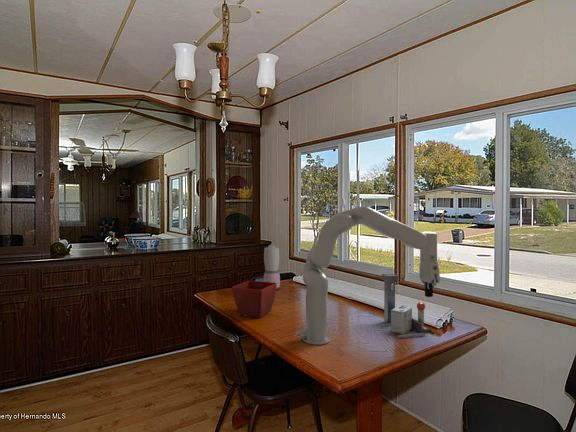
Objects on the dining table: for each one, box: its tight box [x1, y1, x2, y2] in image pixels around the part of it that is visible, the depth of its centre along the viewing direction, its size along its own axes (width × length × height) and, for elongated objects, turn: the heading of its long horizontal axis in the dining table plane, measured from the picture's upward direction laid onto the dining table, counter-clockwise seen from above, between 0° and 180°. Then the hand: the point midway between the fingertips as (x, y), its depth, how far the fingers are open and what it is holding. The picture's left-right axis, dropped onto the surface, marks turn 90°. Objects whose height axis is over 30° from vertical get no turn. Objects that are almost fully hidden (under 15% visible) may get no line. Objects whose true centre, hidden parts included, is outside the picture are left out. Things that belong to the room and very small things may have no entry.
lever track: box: [422, 326, 435, 336], centre depth 175 cm, size 6×20×1 cm, turn 11°
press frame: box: [381, 273, 425, 339], centre depth 174 cm, size 14×24×25 cm, turn 11°
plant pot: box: [231, 280, 277, 319], centre depth 198 cm, size 19×19×17 cm
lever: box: [416, 301, 427, 330], centre depth 172 cm, size 4×5×13 cm
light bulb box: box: [390, 304, 413, 335], centre depth 172 cm, size 11×7×11 cm, turn 140°
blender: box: [263, 245, 281, 290], centre depth 261 cm, size 16×12×32 cm
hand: (428, 296), depth 166 cm, fingers closed
